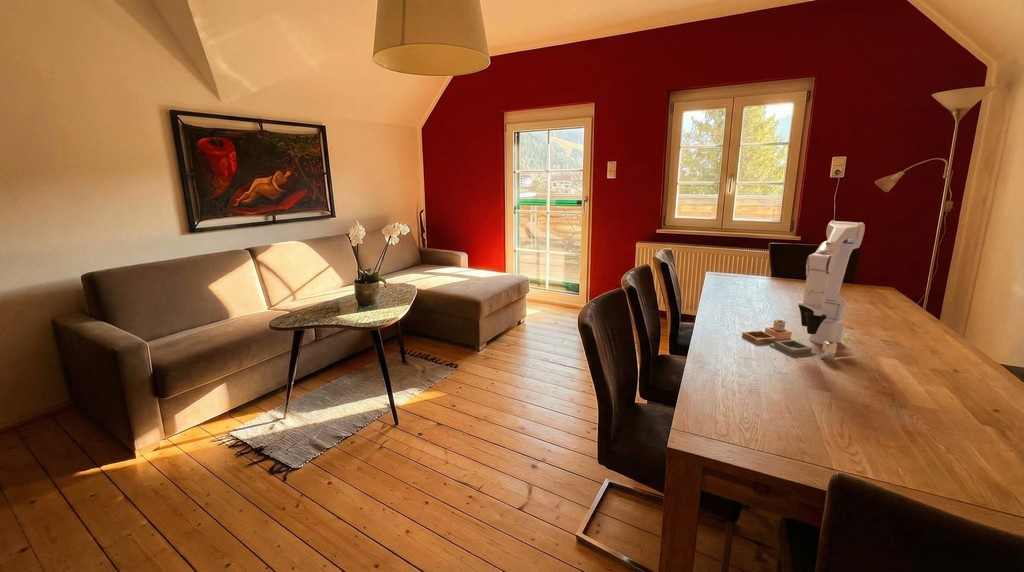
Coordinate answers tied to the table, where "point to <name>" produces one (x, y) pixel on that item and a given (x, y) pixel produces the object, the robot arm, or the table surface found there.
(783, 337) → the orange square box
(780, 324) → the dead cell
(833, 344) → the cell
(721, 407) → the table surface
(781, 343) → the cradle
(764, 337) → the brown square tray
